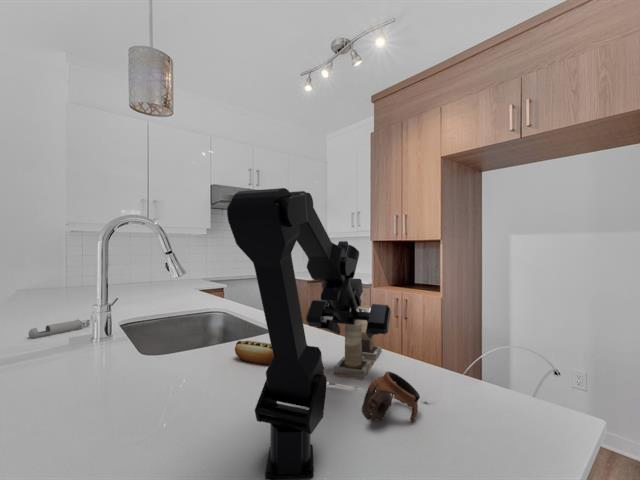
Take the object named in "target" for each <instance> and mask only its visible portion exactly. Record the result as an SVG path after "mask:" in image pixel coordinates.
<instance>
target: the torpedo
mask: <svg viewBox="0 0 640 480" xmlns="http://www.w3.org/2000/svg"><path fill="white" fill-rule="evenodd" d="M90 321H91V319H85V320H83V321H82V320H80V319H75V320H71V321H65V322H60V323H59V322H58V323H53V324H47V325H46V326H45V330H42V331H39V330H38V327H37V328H36V327H34V328H31V329H29V331H28V337H29V338H31V339H37V338H38V337H39V338H43V336H44V337H47V336H48V335H49V336H52V334H54V335H57V333H58V334H63V333H68V332H72V330H73V331H78V330H80V329H81V328H85V327H88V326H90V325H91V324H90V323H91V322H90ZM67 331H68V332H67ZM62 332H63V333H62ZM49 336H48V337H49Z"/></svg>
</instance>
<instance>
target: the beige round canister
mask: <svg viewBox="0 0 640 480" xmlns="http://www.w3.org/2000/svg"><path fill="white" fill-rule="evenodd" d="M344 357H345V368H352V369H358V370H361V367H362V320H357V319H356V320H355V323H354V325H351V324H344Z"/></svg>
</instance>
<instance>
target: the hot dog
mask: <svg viewBox="0 0 640 480" xmlns="http://www.w3.org/2000/svg"><path fill="white" fill-rule="evenodd" d="M234 353H235V355H236V356H237V357H238V358H239V359H240V360H243V361H246V362H249V363H254V364H261V365H262V364H263V365H269V364H270V362H271V360H272V358H273V351H272V347H271V343H268V342H261V341H254V340H239V341H237V342H236V343H235V347H234Z"/></svg>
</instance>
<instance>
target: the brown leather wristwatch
mask: <svg viewBox="0 0 640 480" xmlns="http://www.w3.org/2000/svg"><path fill="white" fill-rule="evenodd" d="M392 395H394V399H395V400H397V401H400V403H402V404H405V405H407V406H408V407H410V408H411V410H412V411H411V415H410V418H409V419H410V422H413V423H414V421H415V419H416V418H417V414H418V411H419V410H418V409H419V408H418V406H419V405H418V401H419V400H420V398H421V395H420V394H419V391H417V390H416V388H414V386H413V385H412V384H410V383H409V382H408V381H407V380H405V379H404V378H403V377H401V376H400V375H398V374H396V372H395V373H394V372H391V371H385V373H384V374H383V375H382V376H379V377H377V378H375V379H373V381H371V383H370V384H369V386H368V388H367V390H366V393H365V396H364V399H363V404H362V406H361V409H362V410H361V411H362V413H363V415H364V416H365V417H366V419H367V420H370V419H371V417H372V418H373V419H374V420H375V421H379V422H380V421H381V422H382V421H383V420H384V418H385V416H386V413H387V411H388V410H389V408H390V407H391V406H392V400H393V396H392Z"/></svg>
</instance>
